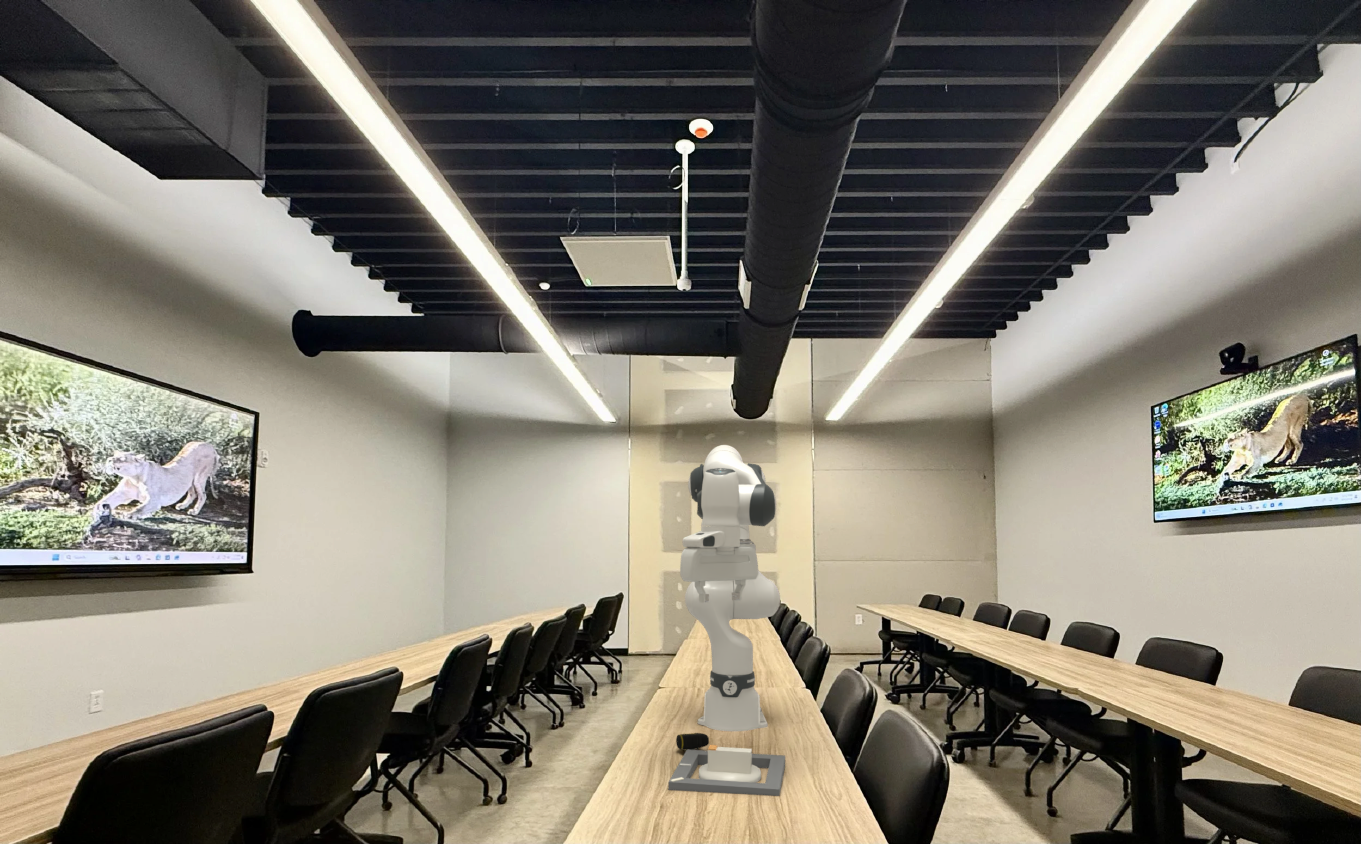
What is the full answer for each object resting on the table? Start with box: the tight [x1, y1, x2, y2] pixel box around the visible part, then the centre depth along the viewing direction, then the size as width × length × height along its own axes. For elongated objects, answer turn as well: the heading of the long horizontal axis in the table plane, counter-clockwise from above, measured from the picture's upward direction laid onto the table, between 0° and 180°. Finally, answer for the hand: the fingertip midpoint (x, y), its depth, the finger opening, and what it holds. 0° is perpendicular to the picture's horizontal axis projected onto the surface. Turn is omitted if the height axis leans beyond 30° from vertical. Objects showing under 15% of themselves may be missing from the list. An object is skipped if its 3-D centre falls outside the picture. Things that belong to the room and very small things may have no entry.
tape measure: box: [675, 732, 710, 752], centre depth 193 cm, size 7×7×4 cm
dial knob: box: [698, 744, 762, 783], centre depth 173 cm, size 13×13×6 cm
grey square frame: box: [667, 749, 786, 797], centre depth 173 cm, size 22×22×3 cm
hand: (720, 601), depth 185 cm, fingers open, 8 cm apart
